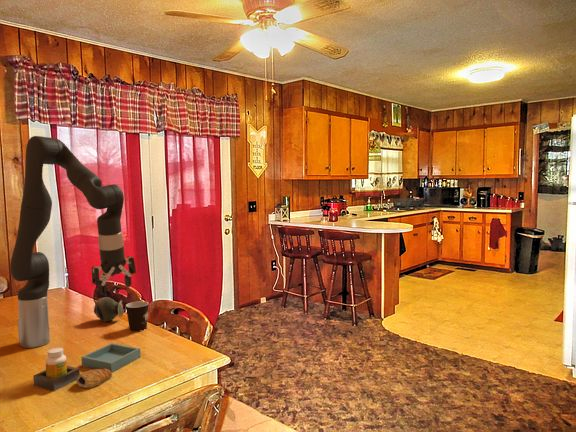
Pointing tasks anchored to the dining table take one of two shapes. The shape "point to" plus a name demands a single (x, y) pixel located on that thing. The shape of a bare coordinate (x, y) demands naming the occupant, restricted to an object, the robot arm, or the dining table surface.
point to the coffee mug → (137, 315)
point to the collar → (56, 379)
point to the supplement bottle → (56, 363)
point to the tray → (111, 357)
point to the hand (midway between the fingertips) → (116, 290)
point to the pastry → (93, 377)
